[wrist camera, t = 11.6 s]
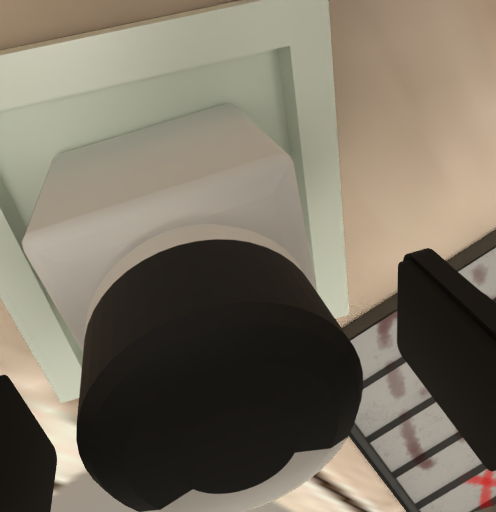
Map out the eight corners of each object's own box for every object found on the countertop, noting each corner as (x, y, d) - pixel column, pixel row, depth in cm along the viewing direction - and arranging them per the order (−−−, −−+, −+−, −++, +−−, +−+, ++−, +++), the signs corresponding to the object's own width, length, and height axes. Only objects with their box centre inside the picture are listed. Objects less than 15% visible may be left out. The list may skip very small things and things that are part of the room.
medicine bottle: (49, 154, 17) (-49, 395, 7) (233, 99, 17) (396, 242, 7) (121, 302, 21) (127, 599, 10) (269, 252, 21) (410, 486, 11)
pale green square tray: (301, -13, 17) (327, -14, 15) (329, 287, 24) (349, 314, 22) (-91, 69, 15) (-124, 81, 13) (66, 365, 23) (60, 403, 21)
